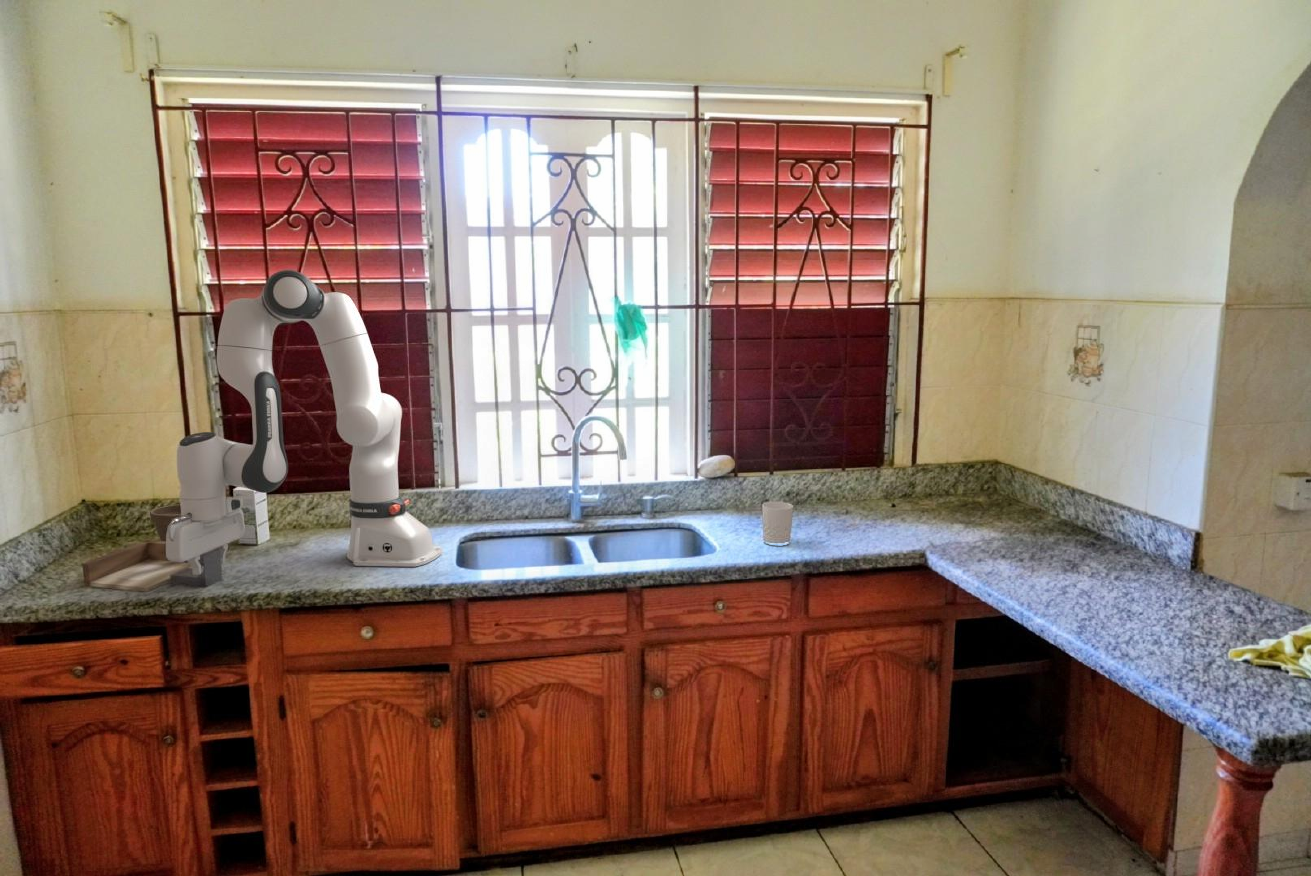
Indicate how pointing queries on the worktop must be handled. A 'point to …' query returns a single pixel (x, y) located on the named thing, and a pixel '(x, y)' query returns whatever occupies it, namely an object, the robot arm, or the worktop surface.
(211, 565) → the angle bracket
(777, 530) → the white cup
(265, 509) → the syrup box
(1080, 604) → the worktop surface
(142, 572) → the corner arena
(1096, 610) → the worktop surface
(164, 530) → the flower pot
